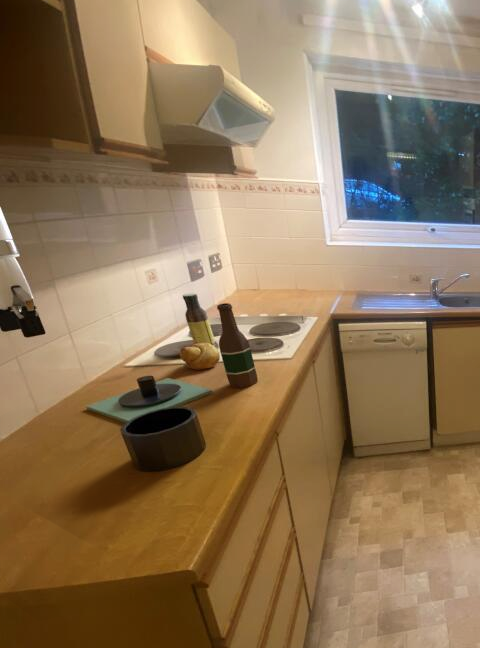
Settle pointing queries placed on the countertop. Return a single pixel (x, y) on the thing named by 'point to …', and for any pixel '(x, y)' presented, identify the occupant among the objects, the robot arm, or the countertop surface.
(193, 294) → the sauce bottle
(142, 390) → the pot lid
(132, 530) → the countertop surface
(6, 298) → the robot arm
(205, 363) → the bread roll
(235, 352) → the beer bottle
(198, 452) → the pot
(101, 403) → the cutting board
